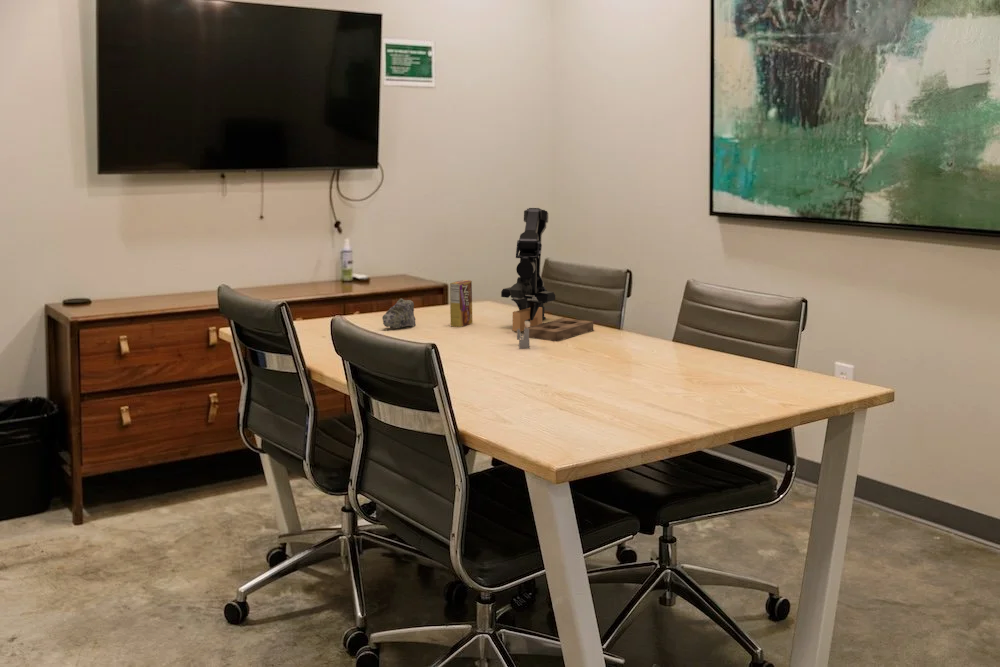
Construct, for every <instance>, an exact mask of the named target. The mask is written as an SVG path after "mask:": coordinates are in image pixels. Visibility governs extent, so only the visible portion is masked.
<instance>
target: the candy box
mask: <svg viewBox="0 0 1000 667" xmlns="http://www.w3.org/2000/svg"><path fill="white" fill-rule="evenodd" d="M472 281H473V280H470V279H468V280H466V279H461V280H458V281H454V282H450V283H449V303H450V305H449V306H450V307H449V308H450V310H449V311H450V313H449V314H450V327H453V328H454V327H456V328H462V327H465V326H468V325H471V324H473V290H472V289H473V287H472V286H473V285H472V283H473V282H472Z"/></svg>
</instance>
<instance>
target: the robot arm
mask: <svg viewBox="0 0 1000 667" xmlns="http://www.w3.org/2000/svg"><path fill="white" fill-rule="evenodd" d="M523 222H524V223H525V227H524V231H523V232H522V233H520V235H519V239H517V242H516V248H515V250H516V251H515V259H520V260H519V262H518V264H517V265H516V268H515V270H516V274H517V275H518V276H519V277H517V281H516V283H514V284H513V285H512V286H511V287H504V288H502V290H501V291H500V297H501V298H507V299H508V298H511V299H510V300H511V301H513V302H514V303H515V304H516V306H517V308H518V310H523V309H527V308H530V319H528V320H527V321H530V320H533V319H534V317H535V314H536V312H537V310H538V308H539V307H542V320H545V319H546V318H547V317H545V306H544V305H545V304H548V302H553V301H555V300H556V294H555V293H554V291H550V290H548V289H546V286H545V282H544V280H543V278H542V276H541V260H542V259H541V257H542V256H541V255H542V247H543V245H542V235H543V233H544V232H545V230H546V229H547V224H549V212H548V211H547V210H546V209H542V208H540V207H528V208H526V209H525V210H524V211H523Z"/></svg>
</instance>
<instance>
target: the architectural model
mask: <svg viewBox="0 0 1000 667" xmlns="http://www.w3.org/2000/svg"><path fill="white" fill-rule="evenodd" d="M516 340H518V348H519V350H520V349H522V350H523V349H524V350H525V349H530V338H529V328H528V327H525V329H524V331H523V333H522V331H521V332H520V329H517V331H516Z"/></svg>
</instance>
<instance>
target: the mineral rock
mask: <svg viewBox="0 0 1000 667" xmlns="http://www.w3.org/2000/svg"><path fill="white" fill-rule="evenodd" d="M414 307H415V304H414V301H412V300H411V299H407V300H405V299H403V298H399V299H398V300H397V301H396V303H395V304H394V305H393V306H391V307H390V308H389V309H388V310H387V311H386V313H384V314H383V315H382V322H383V323H382V324H383V325H384V327H386V328H391V329H392V328H393V329H401V328H404V327H416V317H415V314H414V313H415V312H414V311H415V309H414Z"/></svg>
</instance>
